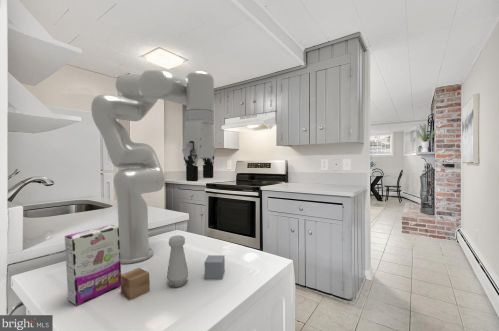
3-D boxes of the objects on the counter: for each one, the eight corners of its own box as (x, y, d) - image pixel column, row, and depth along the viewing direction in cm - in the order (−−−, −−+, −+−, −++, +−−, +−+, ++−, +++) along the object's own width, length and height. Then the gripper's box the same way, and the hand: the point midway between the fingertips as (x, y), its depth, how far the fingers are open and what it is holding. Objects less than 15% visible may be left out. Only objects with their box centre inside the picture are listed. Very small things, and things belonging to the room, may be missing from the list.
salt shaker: (182, 289, 63) (181, 240, 63) (162, 287, 64) (161, 239, 64) (192, 278, 69) (191, 233, 69) (173, 277, 70) (172, 233, 70)
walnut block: (121, 294, 62) (120, 274, 62) (139, 285, 66) (139, 267, 66) (130, 300, 59) (130, 280, 59) (149, 291, 63) (149, 272, 63)
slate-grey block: (204, 279, 69) (204, 262, 69) (208, 271, 74) (208, 255, 74) (222, 279, 68) (221, 262, 68) (224, 271, 73) (224, 255, 73)
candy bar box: (112, 281, 69) (110, 224, 68) (122, 285, 66) (120, 226, 66) (66, 300, 59) (63, 234, 59) (75, 307, 57) (73, 238, 56)
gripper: (202, 123, 77) (202, 176, 77) (170, 113, 60) (171, 182, 61) (224, 122, 75) (224, 177, 75) (197, 112, 58) (198, 183, 59)
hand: (200, 179), depth 68 cm, fingers open, 9 cm apart
